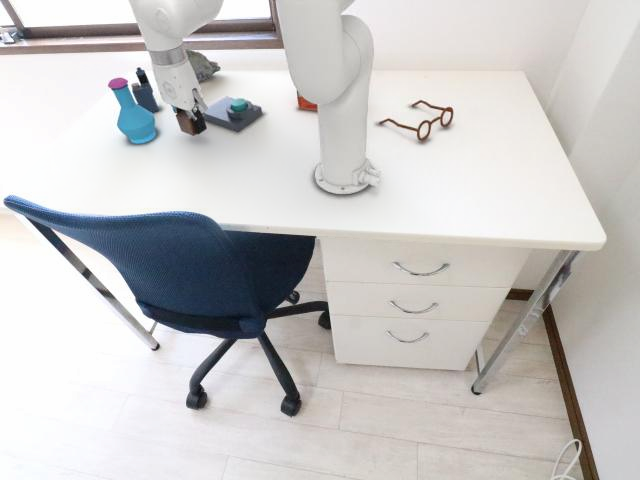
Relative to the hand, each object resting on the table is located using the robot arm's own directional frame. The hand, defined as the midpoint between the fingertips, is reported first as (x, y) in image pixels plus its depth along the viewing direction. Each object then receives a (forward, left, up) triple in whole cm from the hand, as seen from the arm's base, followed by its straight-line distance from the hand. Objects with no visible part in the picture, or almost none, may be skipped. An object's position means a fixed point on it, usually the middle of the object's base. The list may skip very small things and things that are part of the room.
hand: (193, 128), depth 93 cm
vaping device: (+24, -4, -4) cm, 24 cm away
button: (-4, -13, 0) cm, 14 cm away
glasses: (-45, -33, -4) cm, 56 cm away
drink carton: (-20, -31, -4) cm, 37 cm away
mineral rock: (+25, -24, -4) cm, 35 cm away
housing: (0, -13, -4) cm, 13 cm away
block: (0, 0, 0) cm, 0 cm away
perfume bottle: (+15, +6, -4) cm, 16 cm away
